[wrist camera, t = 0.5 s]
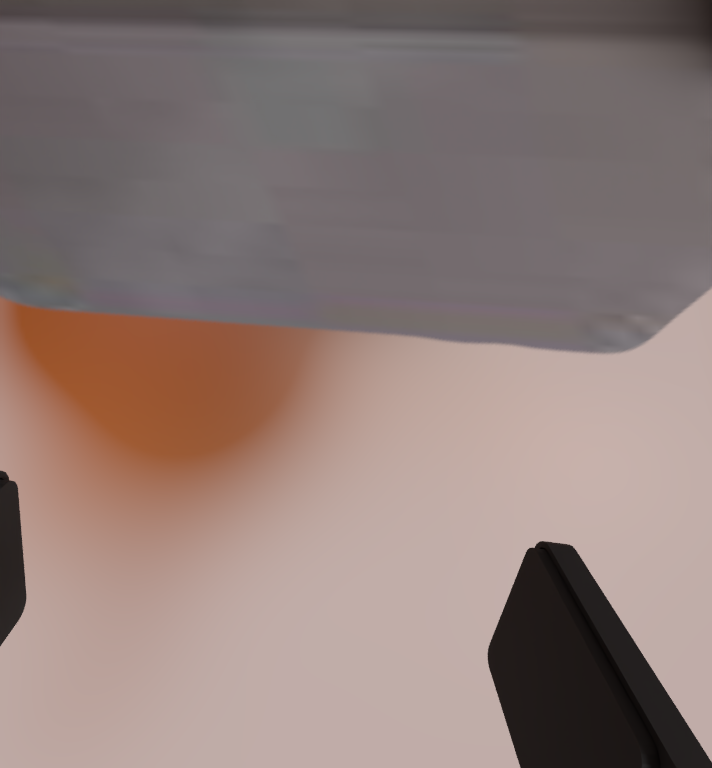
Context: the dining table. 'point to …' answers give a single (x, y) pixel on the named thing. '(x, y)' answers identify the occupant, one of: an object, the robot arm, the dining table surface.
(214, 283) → the dining table surface
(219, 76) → the dining table surface
